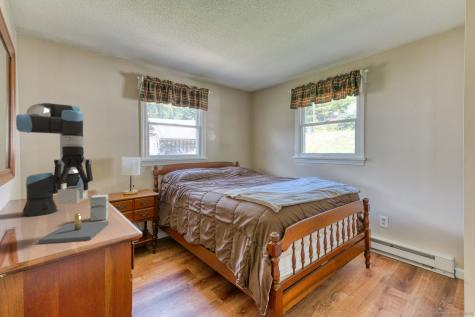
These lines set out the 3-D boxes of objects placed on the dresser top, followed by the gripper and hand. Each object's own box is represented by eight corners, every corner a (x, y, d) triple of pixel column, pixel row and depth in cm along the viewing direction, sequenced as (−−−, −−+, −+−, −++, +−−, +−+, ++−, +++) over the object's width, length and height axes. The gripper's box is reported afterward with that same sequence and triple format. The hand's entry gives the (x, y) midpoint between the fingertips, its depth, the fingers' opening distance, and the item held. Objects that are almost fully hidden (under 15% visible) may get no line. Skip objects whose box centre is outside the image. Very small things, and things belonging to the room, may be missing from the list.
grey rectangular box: (71, 199, 100) (71, 186, 100) (88, 198, 102) (87, 185, 101) (57, 204, 90) (57, 189, 90) (76, 203, 92) (76, 189, 92)
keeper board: (67, 226, 104) (67, 223, 104) (108, 224, 108) (108, 221, 108) (38, 243, 85) (38, 239, 85) (90, 239, 89) (90, 236, 89)
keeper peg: (76, 228, 97) (76, 212, 97) (82, 228, 98) (82, 212, 98) (73, 230, 95) (73, 214, 95) (79, 230, 96) (79, 213, 95)
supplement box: (89, 221, 113) (89, 197, 112) (93, 217, 119) (93, 194, 119) (106, 220, 115) (106, 196, 115) (108, 216, 122) (108, 193, 122)
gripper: (40, 145, 90) (41, 200, 90) (94, 145, 94) (95, 198, 94) (52, 146, 97) (53, 197, 98) (101, 146, 101) (102, 195, 101)
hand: (73, 198), depth 96 cm, fingers closed on grey rectangular box, 7 cm apart
